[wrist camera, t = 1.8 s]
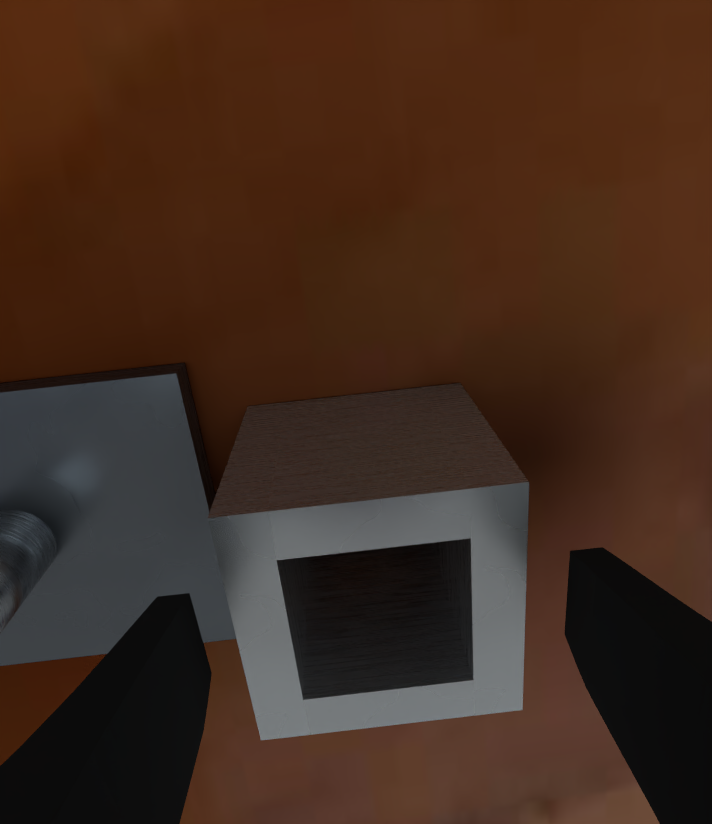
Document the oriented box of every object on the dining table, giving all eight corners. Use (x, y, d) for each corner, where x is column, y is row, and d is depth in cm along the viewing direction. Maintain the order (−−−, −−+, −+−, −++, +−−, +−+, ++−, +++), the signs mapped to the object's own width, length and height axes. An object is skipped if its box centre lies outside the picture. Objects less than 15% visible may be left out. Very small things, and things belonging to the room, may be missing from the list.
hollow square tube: (280, 578, 16) (261, 740, 11) (247, 406, 14) (207, 518, 9) (464, 556, 16) (522, 709, 11) (460, 383, 14) (528, 482, 9)
